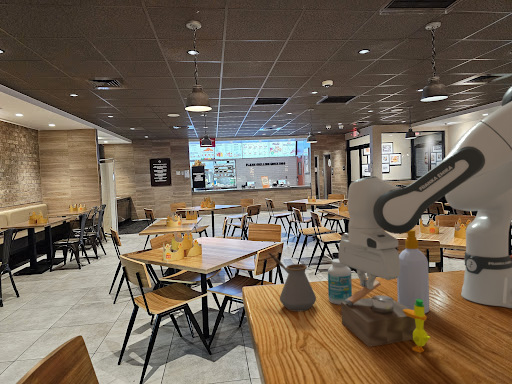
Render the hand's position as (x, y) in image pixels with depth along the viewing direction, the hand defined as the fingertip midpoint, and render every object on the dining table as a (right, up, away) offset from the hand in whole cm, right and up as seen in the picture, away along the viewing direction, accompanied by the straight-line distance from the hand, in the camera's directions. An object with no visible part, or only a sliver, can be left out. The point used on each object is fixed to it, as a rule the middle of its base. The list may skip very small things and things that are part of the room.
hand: (366, 287), depth 93 cm
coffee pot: (-19, -11, +20) cm, 30 cm away
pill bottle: (-3, -10, +18) cm, 21 cm away
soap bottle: (+17, -9, +9) cm, 21 cm away
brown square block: (+2, -10, -3) cm, 11 cm away
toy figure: (+7, -11, -14) cm, 19 cm away
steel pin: (+3, -9, -5) cm, 11 cm away
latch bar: (-1, -2, 0) cm, 2 cm away
